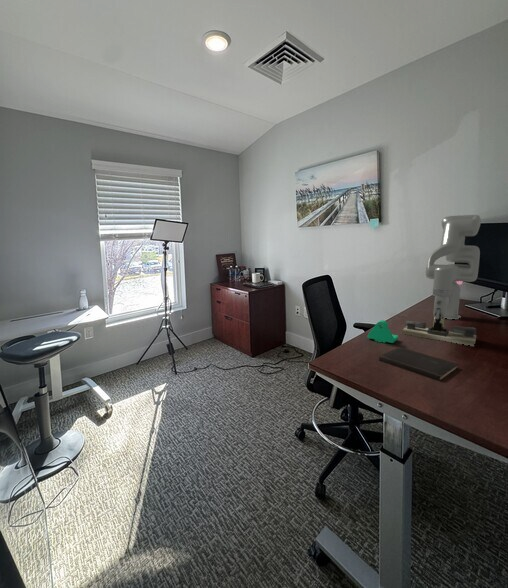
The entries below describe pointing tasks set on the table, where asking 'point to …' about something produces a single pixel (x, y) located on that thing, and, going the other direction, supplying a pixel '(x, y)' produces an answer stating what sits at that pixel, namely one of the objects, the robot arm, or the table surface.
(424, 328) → the stand
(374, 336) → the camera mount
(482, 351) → the table surface
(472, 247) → the robot arm
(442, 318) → the yellow round-topped cylinder
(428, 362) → the hardcover book
